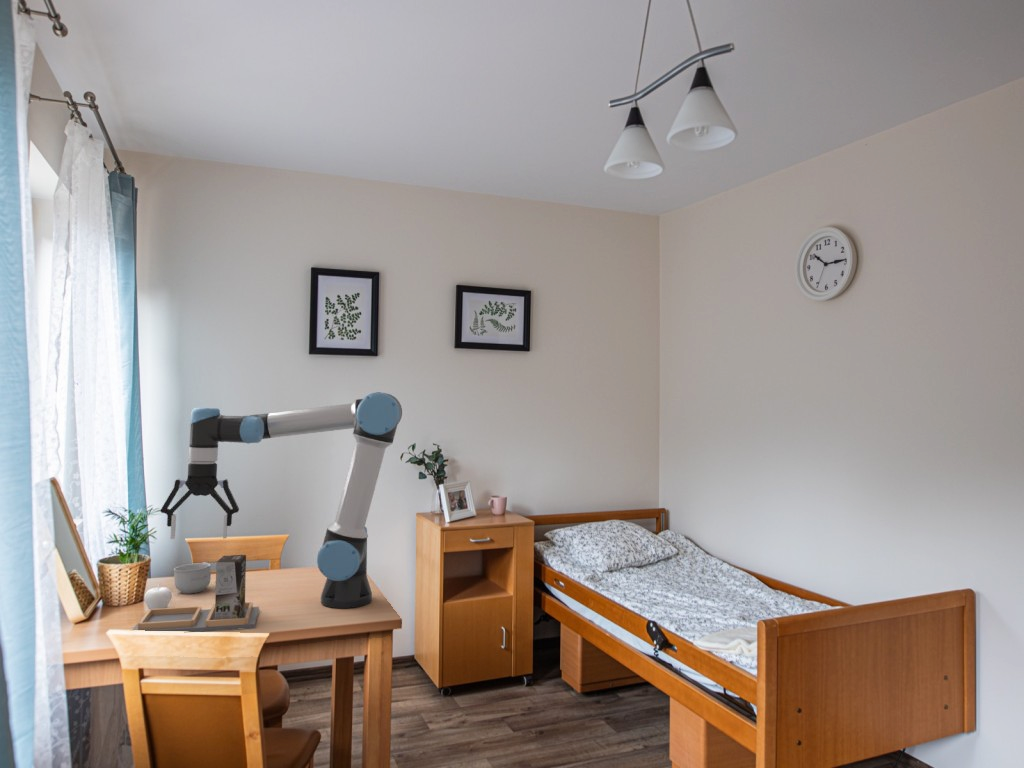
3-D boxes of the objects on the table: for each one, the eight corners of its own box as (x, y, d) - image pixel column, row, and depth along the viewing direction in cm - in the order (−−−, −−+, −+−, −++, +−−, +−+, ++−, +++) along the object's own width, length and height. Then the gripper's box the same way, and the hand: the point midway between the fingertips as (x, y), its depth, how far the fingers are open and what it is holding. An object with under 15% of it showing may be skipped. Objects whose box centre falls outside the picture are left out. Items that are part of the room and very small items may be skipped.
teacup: (193, 597, 224) (193, 571, 224) (165, 593, 227) (165, 568, 228) (224, 586, 237) (225, 561, 237) (197, 583, 241) (198, 558, 241)
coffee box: (238, 621, 197) (240, 561, 198) (213, 621, 196) (215, 561, 197) (245, 611, 206) (247, 554, 207) (221, 612, 205) (223, 554, 206)
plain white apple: (175, 609, 211) (176, 581, 211) (150, 615, 205) (151, 586, 205) (164, 605, 215) (165, 577, 215) (140, 610, 210) (140, 582, 210)
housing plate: (258, 610, 211) (259, 601, 211) (254, 627, 195) (254, 618, 195) (145, 616, 203) (145, 607, 203) (130, 635, 187) (131, 626, 187)
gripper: (250, 461, 213) (246, 534, 212) (156, 460, 206) (152, 535, 205) (248, 464, 206) (245, 539, 205) (151, 462, 199) (147, 541, 198)
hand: (199, 538), depth 205 cm, fingers open, 13 cm apart
